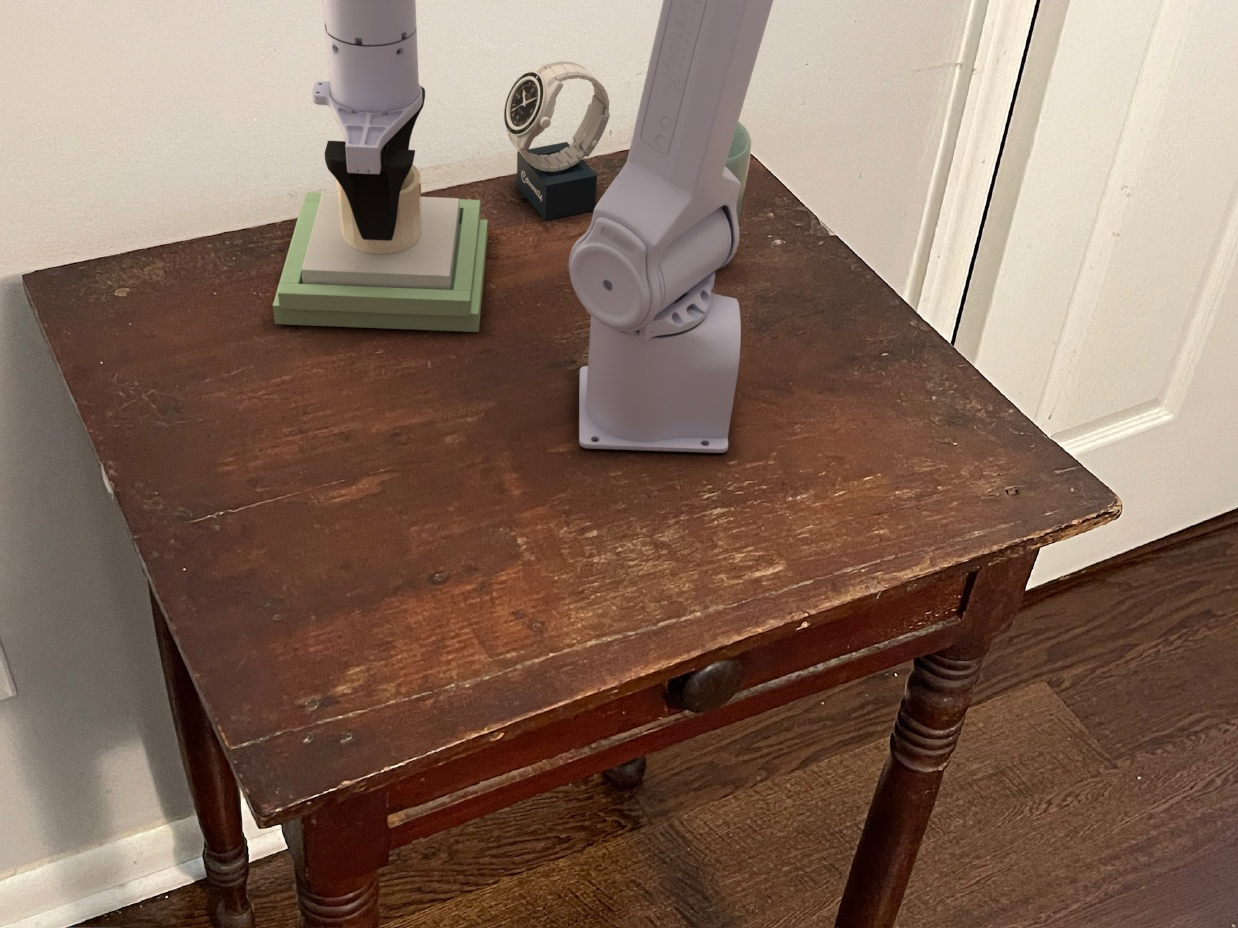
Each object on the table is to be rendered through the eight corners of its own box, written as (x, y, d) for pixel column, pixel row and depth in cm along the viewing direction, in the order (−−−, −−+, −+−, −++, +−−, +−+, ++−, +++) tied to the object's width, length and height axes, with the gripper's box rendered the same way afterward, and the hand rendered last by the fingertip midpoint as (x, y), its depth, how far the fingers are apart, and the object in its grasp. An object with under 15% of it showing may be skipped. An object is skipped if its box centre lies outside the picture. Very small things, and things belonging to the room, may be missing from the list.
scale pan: (459, 216, 101) (459, 198, 99) (450, 294, 93) (449, 275, 92) (323, 210, 100) (322, 191, 99) (303, 288, 93) (301, 269, 92)
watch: (494, 190, 108) (494, 61, 101) (585, 172, 111) (591, 45, 104) (522, 226, 104) (524, 95, 97) (615, 206, 107) (624, 77, 100)
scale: (488, 234, 103) (487, 200, 101) (478, 336, 94) (478, 301, 92) (302, 226, 103) (298, 191, 100) (273, 328, 93) (269, 292, 91)
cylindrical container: (425, 212, 98) (423, 157, 95) (418, 256, 94) (415, 200, 91) (347, 209, 97) (342, 153, 94) (336, 253, 93) (331, 196, 90)
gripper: (323, -24, 90) (338, 157, 100) (288, 76, 80) (309, 269, 89) (429, -18, 91) (434, 161, 100) (408, 82, 80) (417, 273, 89)
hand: (382, 212), depth 94 cm, fingers closed on cylindrical container, 5 cm apart
